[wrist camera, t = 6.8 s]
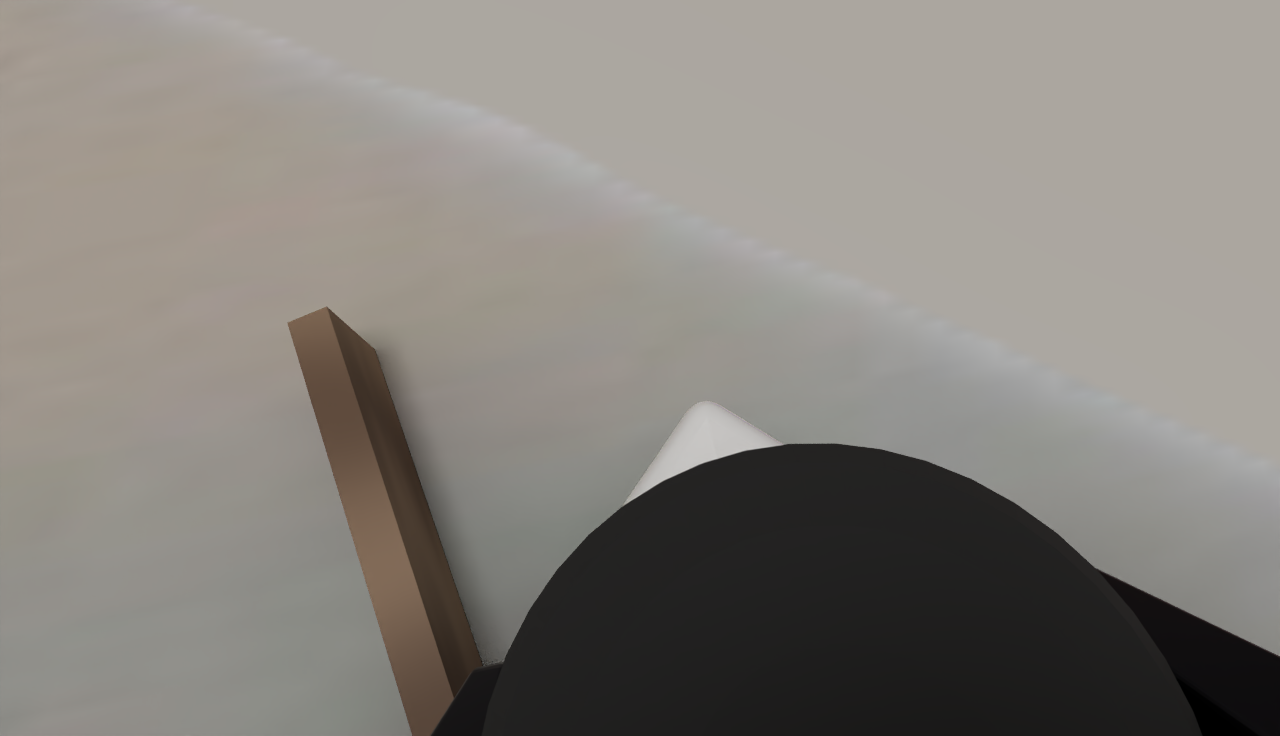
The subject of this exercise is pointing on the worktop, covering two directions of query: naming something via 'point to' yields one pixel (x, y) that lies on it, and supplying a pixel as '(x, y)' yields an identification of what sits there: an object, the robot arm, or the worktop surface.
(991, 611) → the medicine bottle
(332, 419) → the board
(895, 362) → the worktop surface
